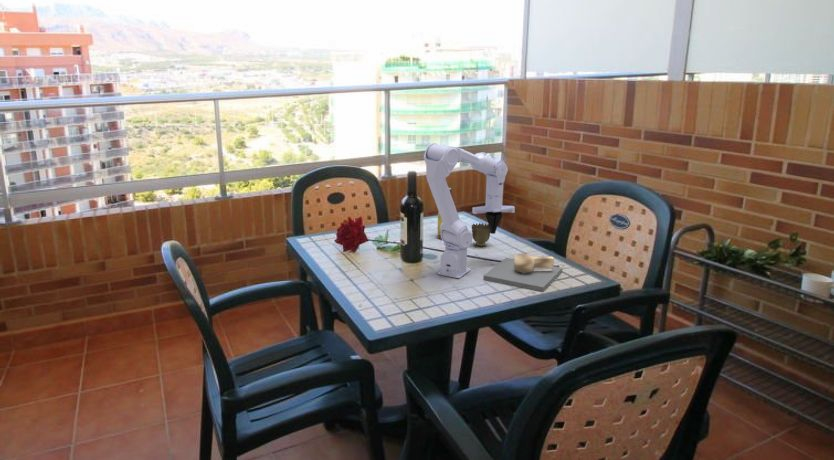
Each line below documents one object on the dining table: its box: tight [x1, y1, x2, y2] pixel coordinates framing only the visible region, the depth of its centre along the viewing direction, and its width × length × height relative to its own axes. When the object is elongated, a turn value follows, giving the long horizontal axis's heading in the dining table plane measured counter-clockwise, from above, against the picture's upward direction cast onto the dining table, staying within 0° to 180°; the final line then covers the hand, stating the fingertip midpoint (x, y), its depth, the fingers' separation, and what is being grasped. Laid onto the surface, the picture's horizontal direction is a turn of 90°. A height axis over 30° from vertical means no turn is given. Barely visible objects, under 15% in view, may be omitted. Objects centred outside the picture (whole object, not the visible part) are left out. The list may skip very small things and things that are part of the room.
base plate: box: [483, 257, 563, 293], centre depth 202 cm, size 20×20×2 cm
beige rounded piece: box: [514, 253, 555, 272], centre depth 201 cm, size 13×6×4 cm, turn 92°
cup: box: [471, 222, 491, 248], centre depth 231 cm, size 8×7×8 cm
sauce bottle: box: [437, 187, 453, 240], centre depth 239 cm, size 7×6×20 cm
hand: (492, 232), depth 213 cm, fingers closed
